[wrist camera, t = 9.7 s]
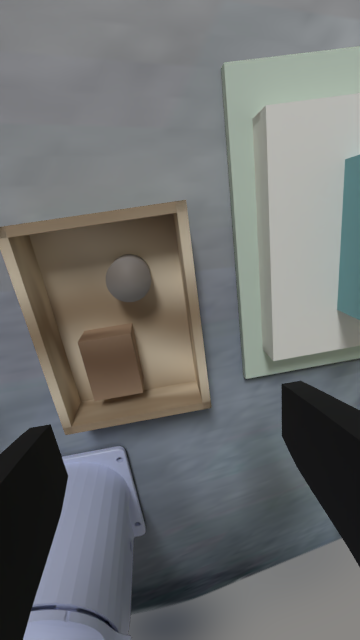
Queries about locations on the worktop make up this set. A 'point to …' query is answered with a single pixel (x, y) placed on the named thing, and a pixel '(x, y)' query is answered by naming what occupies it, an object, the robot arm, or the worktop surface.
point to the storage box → (112, 313)
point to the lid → (308, 224)
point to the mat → (239, 109)
